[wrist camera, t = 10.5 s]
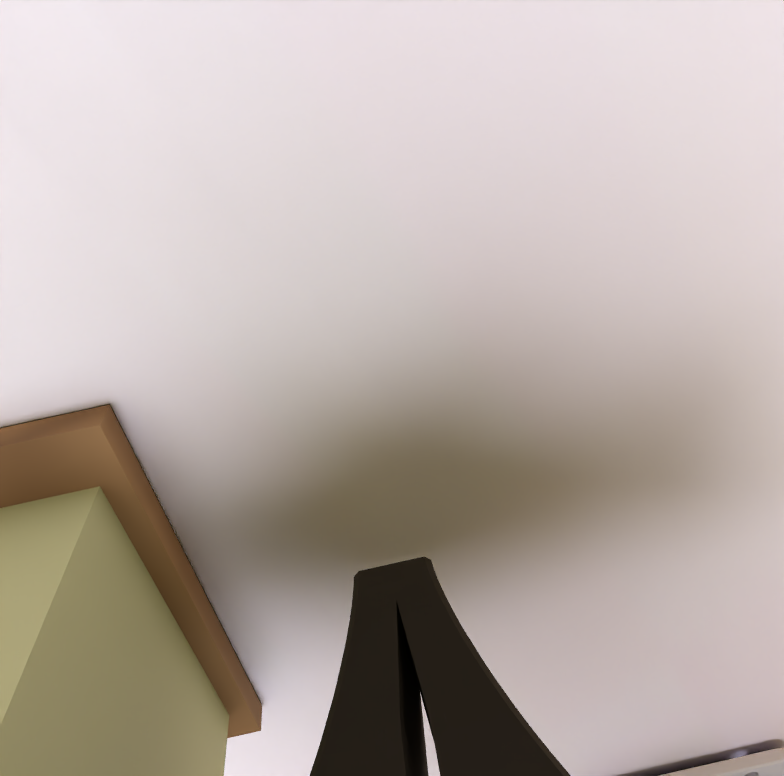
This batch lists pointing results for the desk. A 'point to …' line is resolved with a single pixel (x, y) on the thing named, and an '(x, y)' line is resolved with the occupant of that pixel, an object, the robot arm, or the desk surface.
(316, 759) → the robot arm
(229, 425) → the desk surface
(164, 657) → the sage book
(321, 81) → the desk surface
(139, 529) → the walnut board
